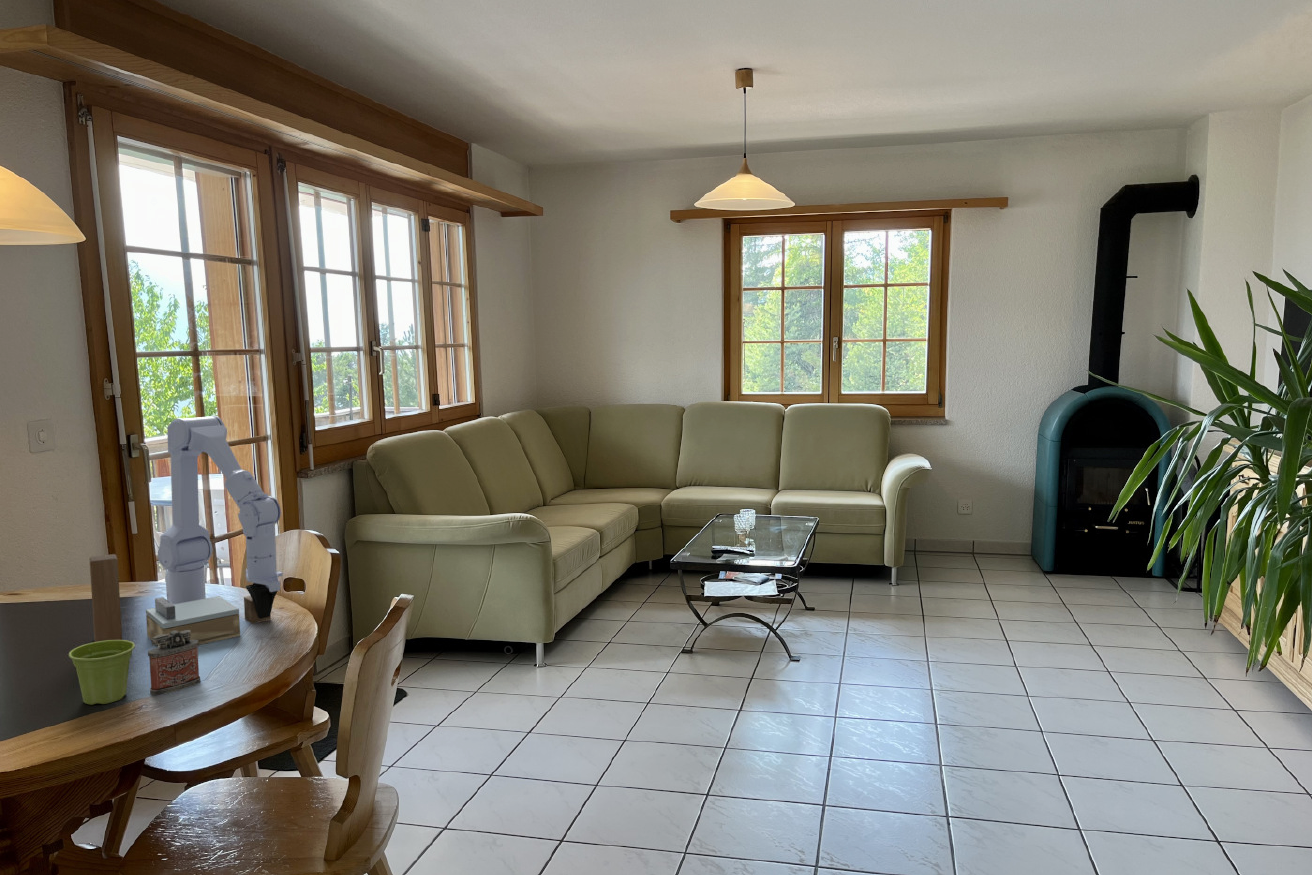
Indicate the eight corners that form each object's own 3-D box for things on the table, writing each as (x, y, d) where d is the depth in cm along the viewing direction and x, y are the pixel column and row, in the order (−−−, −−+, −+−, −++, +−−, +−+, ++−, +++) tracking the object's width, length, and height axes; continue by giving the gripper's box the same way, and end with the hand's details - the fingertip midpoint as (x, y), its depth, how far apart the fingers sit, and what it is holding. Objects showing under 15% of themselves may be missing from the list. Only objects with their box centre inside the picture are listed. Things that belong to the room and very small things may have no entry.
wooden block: (94, 638, 176) (88, 551, 174) (120, 634, 179) (115, 548, 177) (95, 652, 169) (89, 561, 167) (122, 647, 171) (117, 558, 169)
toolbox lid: (146, 614, 177) (145, 597, 177) (219, 600, 187) (218, 584, 186) (163, 628, 168) (162, 611, 168) (239, 613, 178) (238, 596, 178)
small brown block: (244, 619, 189) (243, 596, 189) (263, 615, 192) (262, 593, 192) (251, 623, 186) (250, 601, 186) (270, 619, 189) (269, 597, 189)
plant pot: (119, 683, 154) (116, 635, 153) (149, 694, 149) (146, 645, 148) (61, 701, 146) (57, 651, 145) (90, 714, 141) (87, 663, 140)
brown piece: (147, 636, 178) (146, 615, 177) (220, 621, 187) (219, 601, 187) (164, 652, 169) (163, 629, 169) (240, 635, 179) (239, 614, 178)
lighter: (195, 678, 156) (192, 624, 155) (203, 683, 154) (201, 628, 153) (146, 691, 150) (143, 635, 149) (154, 697, 148) (151, 640, 147)
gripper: (293, 558, 182) (296, 621, 184) (267, 545, 193) (270, 605, 194) (259, 564, 178) (261, 628, 179) (234, 551, 188) (237, 612, 189)
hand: (263, 617), depth 186 cm, fingers closed
